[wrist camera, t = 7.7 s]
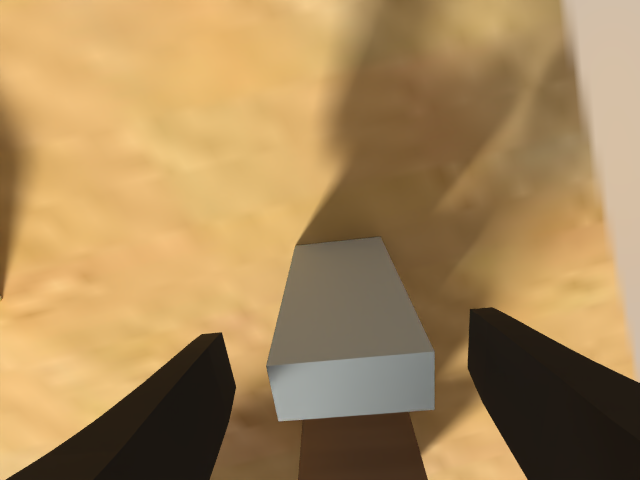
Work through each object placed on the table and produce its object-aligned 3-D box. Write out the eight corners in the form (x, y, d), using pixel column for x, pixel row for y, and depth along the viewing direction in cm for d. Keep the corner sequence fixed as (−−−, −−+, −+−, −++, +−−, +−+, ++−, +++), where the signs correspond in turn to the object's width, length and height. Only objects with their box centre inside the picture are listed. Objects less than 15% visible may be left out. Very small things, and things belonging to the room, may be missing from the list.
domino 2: (387, 359, 18) (433, 538, 10) (313, 365, 18) (304, 545, 10) (385, 331, 17) (433, 499, 9) (309, 337, 17) (296, 507, 10)
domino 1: (382, 271, 16) (434, 409, 8) (300, 279, 16) (278, 421, 8) (380, 236, 15) (434, 351, 8) (295, 245, 15) (266, 365, 8)
